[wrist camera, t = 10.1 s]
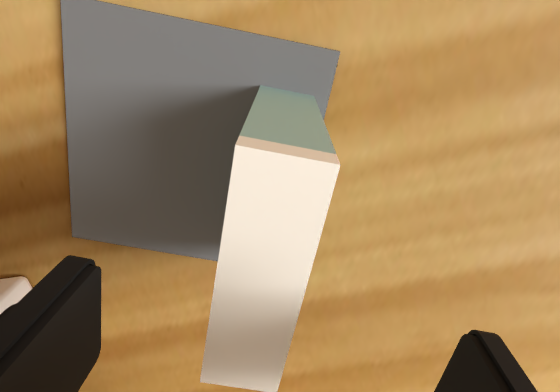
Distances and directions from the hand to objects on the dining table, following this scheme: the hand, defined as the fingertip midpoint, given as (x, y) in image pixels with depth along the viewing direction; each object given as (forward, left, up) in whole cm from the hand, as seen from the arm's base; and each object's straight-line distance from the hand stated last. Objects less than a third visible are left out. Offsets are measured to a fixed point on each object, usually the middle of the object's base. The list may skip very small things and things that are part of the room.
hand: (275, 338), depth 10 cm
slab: (+1, -1, -10) cm, 10 cm away
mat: (+5, -1, -11) cm, 12 cm away
